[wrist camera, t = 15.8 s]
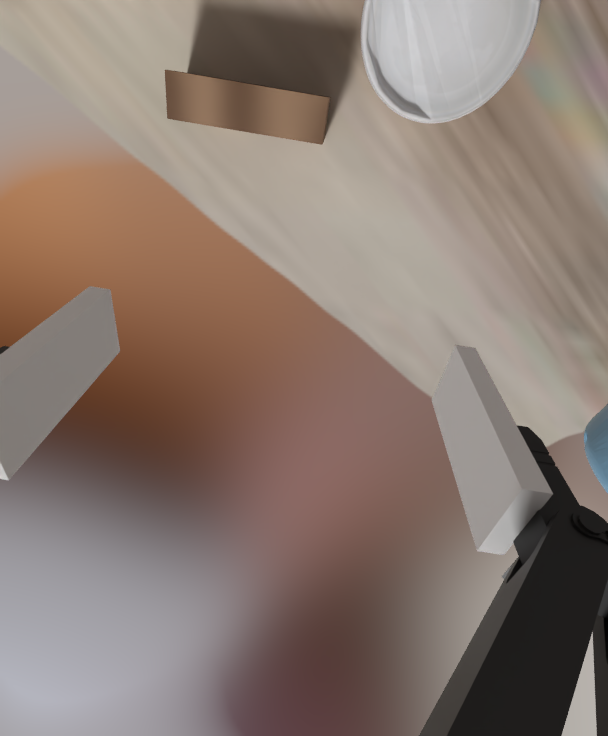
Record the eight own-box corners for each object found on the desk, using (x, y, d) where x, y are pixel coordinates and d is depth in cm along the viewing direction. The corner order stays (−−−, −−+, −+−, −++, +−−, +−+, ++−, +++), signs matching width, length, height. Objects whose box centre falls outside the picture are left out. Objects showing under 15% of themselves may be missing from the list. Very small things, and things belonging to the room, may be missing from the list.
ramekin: (329, 55, 31) (327, 48, 27) (435, -123, 25) (455, -168, 21) (430, 150, 34) (443, 158, 30) (544, 11, 29) (580, -4, 24)
